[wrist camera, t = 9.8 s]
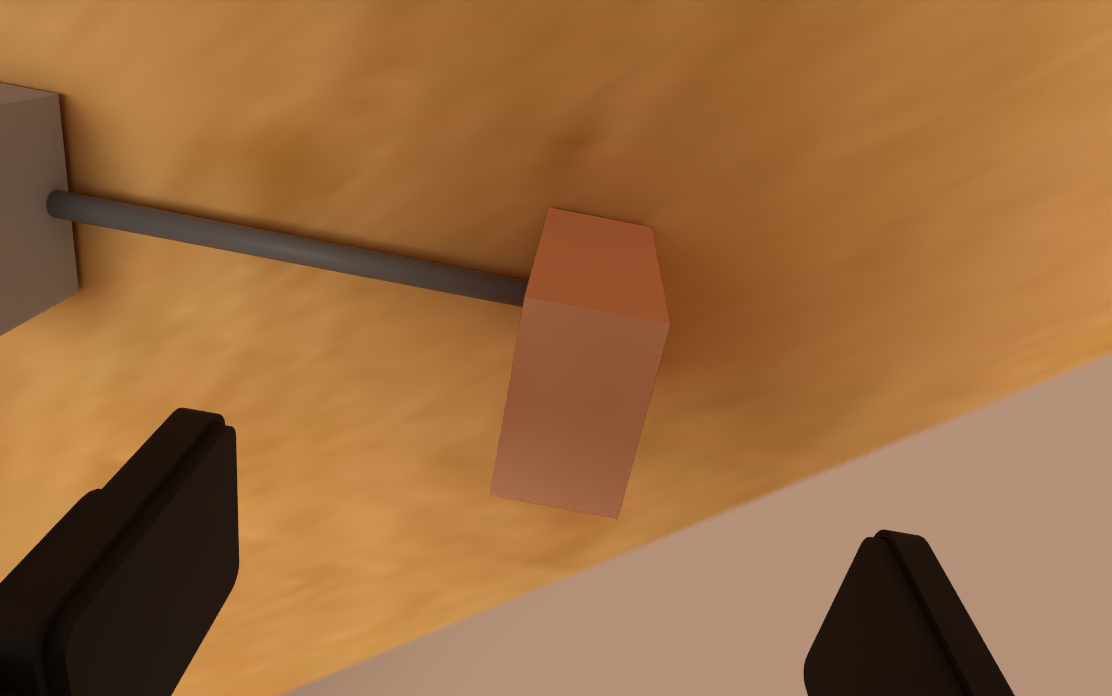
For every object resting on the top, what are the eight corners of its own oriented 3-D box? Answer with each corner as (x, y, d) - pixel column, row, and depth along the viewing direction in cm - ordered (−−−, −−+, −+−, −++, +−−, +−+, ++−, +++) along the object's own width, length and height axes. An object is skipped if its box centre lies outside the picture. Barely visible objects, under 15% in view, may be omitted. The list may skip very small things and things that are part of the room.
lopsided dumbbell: (-158, 51, 21) (-491, 77, 15) (655, 210, 21) (676, 301, 15) (-114, 255, 23) (-380, 351, 17) (611, 392, 24) (612, 535, 18)
